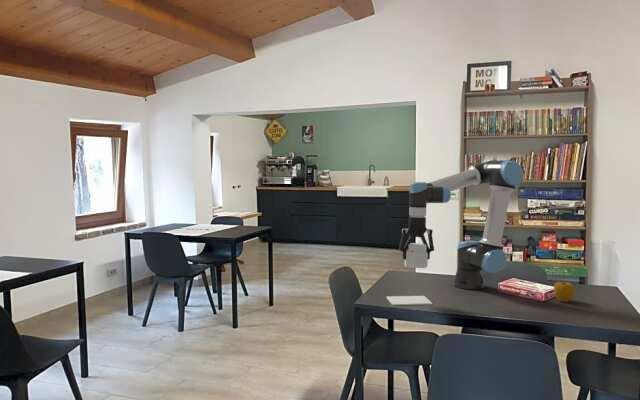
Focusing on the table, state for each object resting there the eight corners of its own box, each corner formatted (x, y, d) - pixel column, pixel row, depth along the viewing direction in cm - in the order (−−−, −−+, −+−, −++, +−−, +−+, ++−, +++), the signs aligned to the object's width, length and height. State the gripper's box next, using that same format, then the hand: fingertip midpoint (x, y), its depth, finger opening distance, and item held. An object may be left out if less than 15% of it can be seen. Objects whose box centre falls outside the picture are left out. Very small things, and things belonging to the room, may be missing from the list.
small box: (423, 266, 217) (424, 243, 217) (425, 268, 212) (426, 245, 211) (405, 265, 217) (406, 242, 217) (407, 267, 212) (408, 244, 211)
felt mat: (424, 297, 222) (424, 295, 222) (432, 304, 210) (432, 303, 210) (386, 297, 220) (386, 296, 220) (392, 305, 208) (392, 304, 208)
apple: (573, 299, 219) (574, 280, 218) (575, 304, 211) (576, 285, 210) (553, 297, 222) (554, 278, 222) (553, 302, 215) (554, 283, 214)
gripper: (437, 215, 218) (435, 264, 219) (392, 215, 216) (390, 264, 217) (443, 217, 210) (441, 268, 212) (396, 217, 208) (394, 268, 210)
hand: (415, 266), depth 215 cm, fingers closed on small box, 8 cm apart
